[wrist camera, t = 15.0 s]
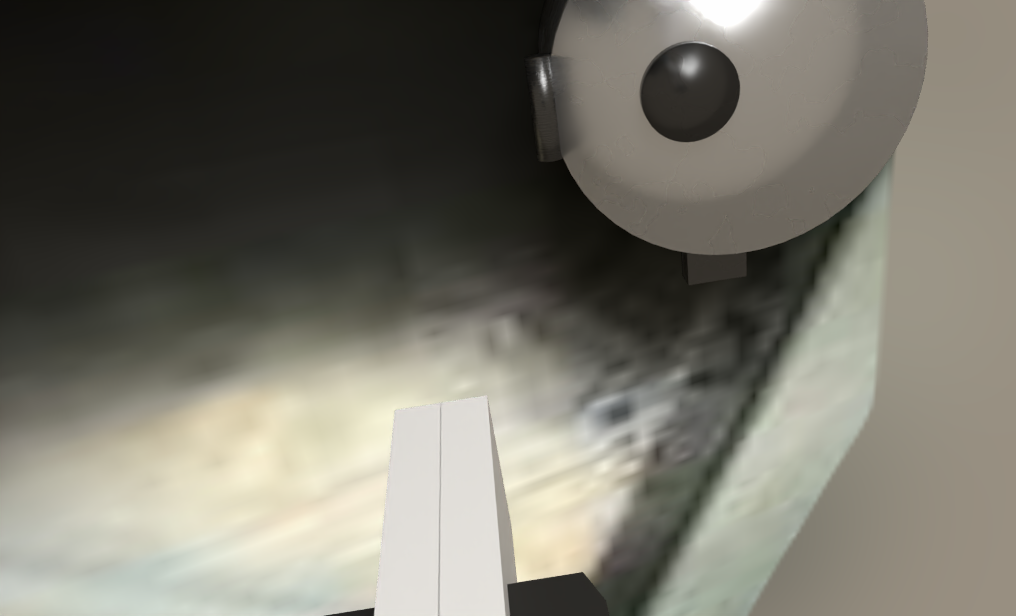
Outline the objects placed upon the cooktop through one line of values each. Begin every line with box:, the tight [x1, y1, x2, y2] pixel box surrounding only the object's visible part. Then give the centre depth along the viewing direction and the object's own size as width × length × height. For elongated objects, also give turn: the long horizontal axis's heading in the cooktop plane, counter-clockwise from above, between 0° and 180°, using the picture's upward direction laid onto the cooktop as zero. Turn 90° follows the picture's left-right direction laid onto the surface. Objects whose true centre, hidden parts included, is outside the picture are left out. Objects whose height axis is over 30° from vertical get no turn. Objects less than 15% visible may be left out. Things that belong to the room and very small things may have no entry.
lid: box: [524, 0, 928, 255], centre depth 34 cm, size 16×16×2 cm
